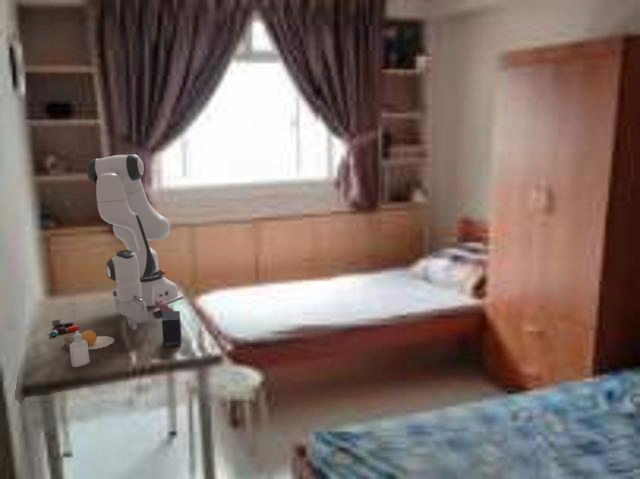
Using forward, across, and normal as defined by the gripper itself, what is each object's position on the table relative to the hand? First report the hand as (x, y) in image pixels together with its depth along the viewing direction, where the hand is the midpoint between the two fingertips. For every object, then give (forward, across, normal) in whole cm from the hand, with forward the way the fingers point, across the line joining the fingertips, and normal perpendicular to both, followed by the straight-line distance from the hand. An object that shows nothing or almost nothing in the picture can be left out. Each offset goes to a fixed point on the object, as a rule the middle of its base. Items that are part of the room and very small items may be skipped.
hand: (133, 328), depth 240 cm
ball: (-1, -1, +18) cm, 18 cm away
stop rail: (+2, 0, +22) cm, 22 cm away
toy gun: (+2, +21, +18) cm, 28 cm away
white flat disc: (+2, 0, +15) cm, 15 cm away
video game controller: (+2, +14, -21) cm, 25 cm away
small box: (+2, -21, -5) cm, 22 cm away
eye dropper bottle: (+2, -16, +27) cm, 31 cm away
